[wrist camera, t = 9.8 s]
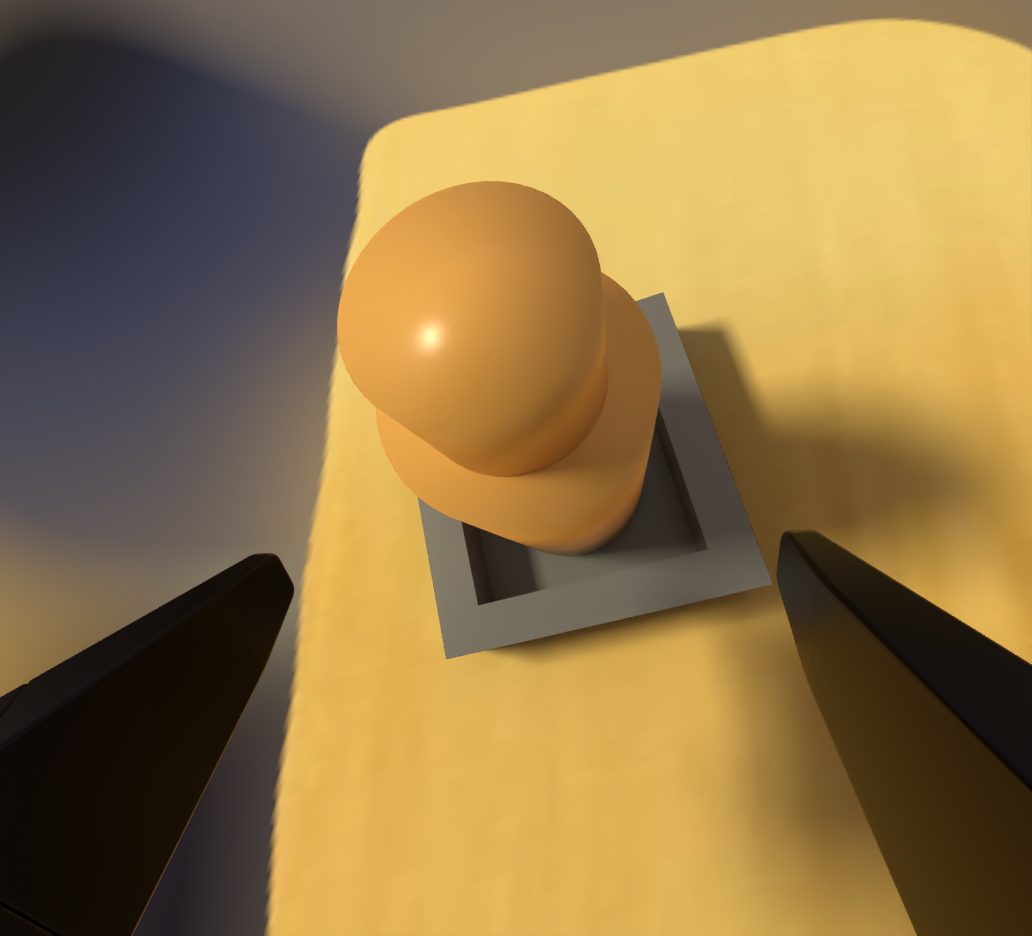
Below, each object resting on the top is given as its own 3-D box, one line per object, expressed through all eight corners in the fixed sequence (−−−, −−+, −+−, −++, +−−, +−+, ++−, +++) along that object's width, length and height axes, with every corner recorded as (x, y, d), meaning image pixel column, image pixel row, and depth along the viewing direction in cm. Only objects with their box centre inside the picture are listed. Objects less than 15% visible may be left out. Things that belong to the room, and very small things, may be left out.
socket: (750, 584, 17) (773, 584, 15) (471, 648, 19) (446, 659, 16) (657, 329, 20) (663, 292, 18) (424, 404, 22) (397, 380, 19)
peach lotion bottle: (672, 507, 18) (779, 345, 6) (537, 584, 18) (363, 587, 6) (592, 385, 20) (541, 62, 8) (471, 457, 20) (234, 264, 8)
